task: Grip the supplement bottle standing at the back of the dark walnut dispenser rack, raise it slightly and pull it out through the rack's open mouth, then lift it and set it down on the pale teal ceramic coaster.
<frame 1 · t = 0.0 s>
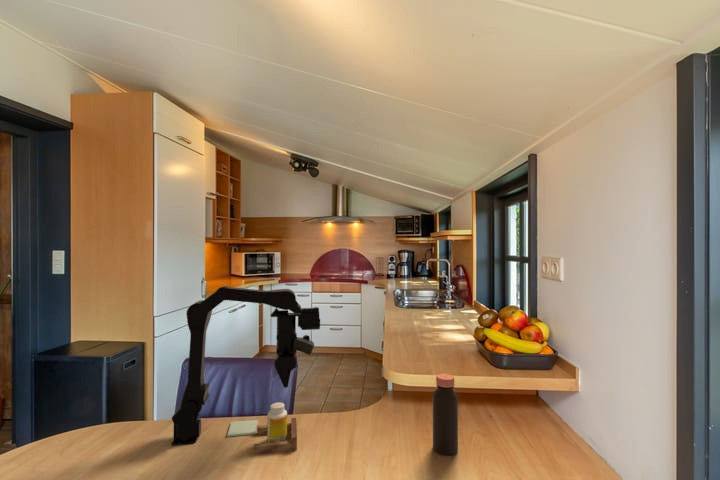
hand: (285, 381, 113), 15 cm above the table, fingers open, 9 cm apart
coaster: (243, 428, 113), on the table
supplement bottle: (277, 441, 107), resting in rack
rack: (273, 441, 106), on the table
black water bottle: (445, 449, 102), on the table
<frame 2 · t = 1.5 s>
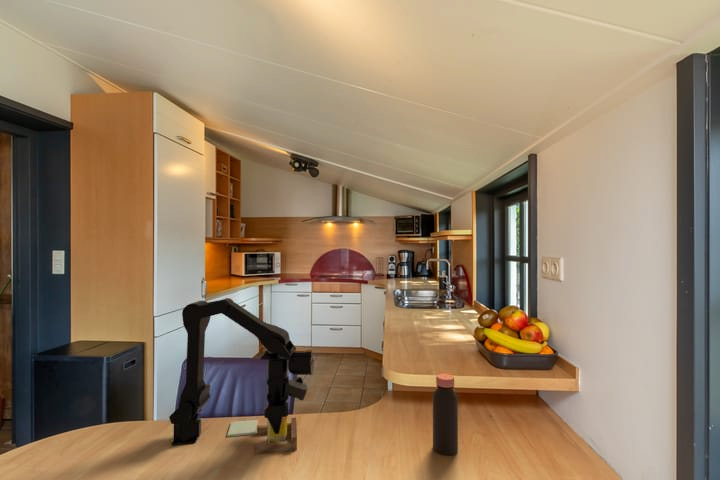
hand: (277, 428, 107), 4 cm above the table, fingers closed on supplement bottle, 6 cm apart
supplement bottle: (277, 441, 107), resting in rack, touching gripper
everything else where it was.
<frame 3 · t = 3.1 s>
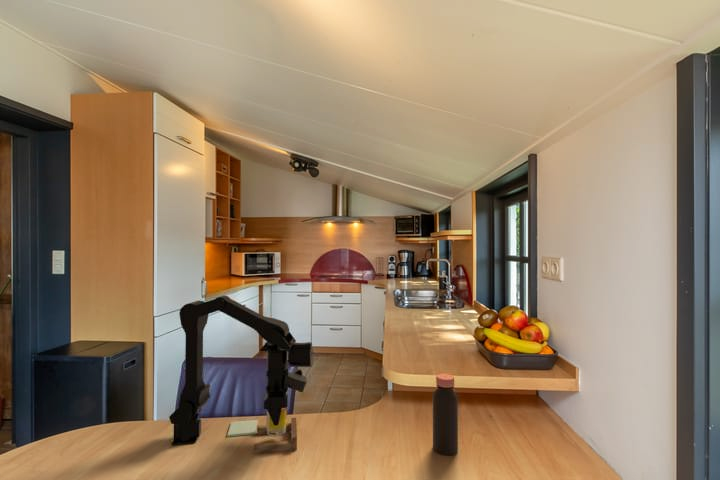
hand: (276, 420, 107), 6 cm above the table, fingers closed on supplement bottle, 5 cm apart
supplement bottle: (276, 433, 107), point 2 cm above the table, touching gripper
everything else where it was.
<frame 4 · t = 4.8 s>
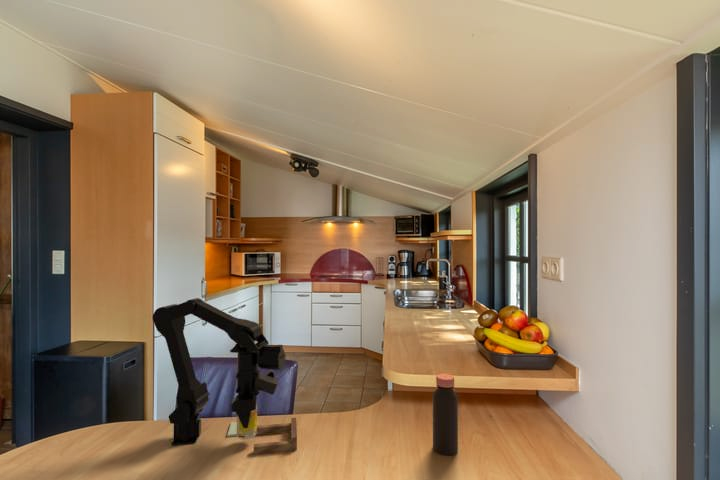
hand: (246, 422, 105), 6 cm above the table, fingers closed on supplement bottle, 5 cm apart
supplement bottle: (246, 436, 105), point 2 cm above the table, touching gripper
everything else where it was.
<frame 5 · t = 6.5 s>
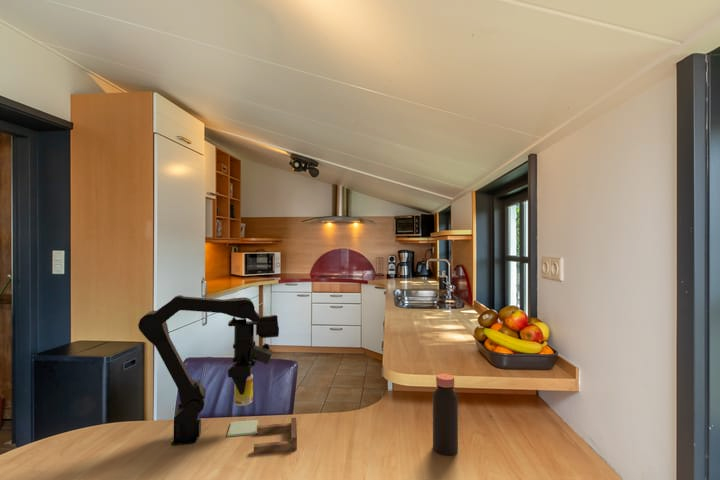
hand: (243, 390, 113), 12 cm above the table, fingers closed on supplement bottle, 5 cm apart
supplement bottle: (243, 403, 113), point 8 cm above the table, touching gripper
everything else where it was.
when the fingers open (5 cm above the table, at t = 8.0 s): supplement bottle stays where it is, resting on coaster.
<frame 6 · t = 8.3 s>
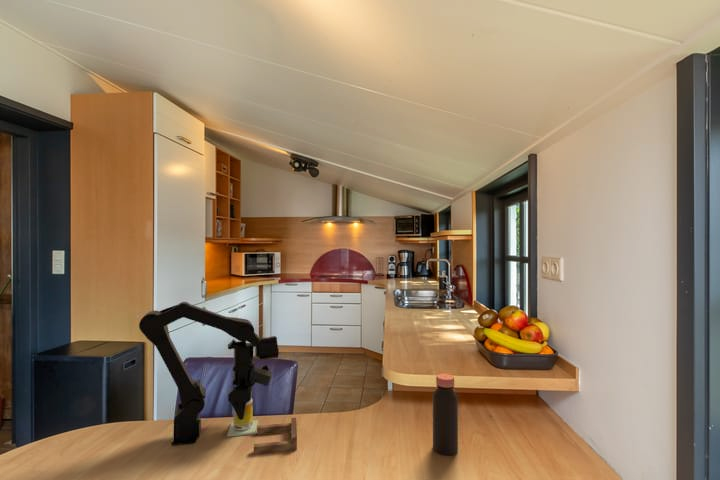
hand: (243, 412, 113), 5 cm above the table, fingers open, 9 cm apart
supplement bottle: (243, 427, 113), resting on coaster
everything else where it was.
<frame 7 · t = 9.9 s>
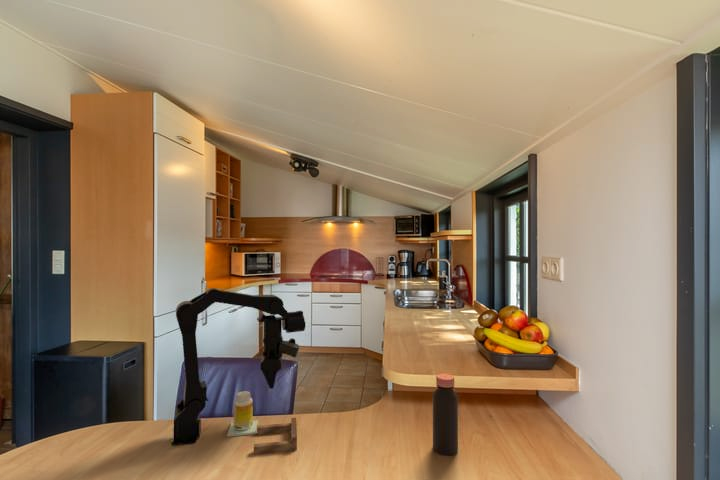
hand: (272, 382, 119), 12 cm above the table, fingers open, 9 cm apart
nothing on the table moved.
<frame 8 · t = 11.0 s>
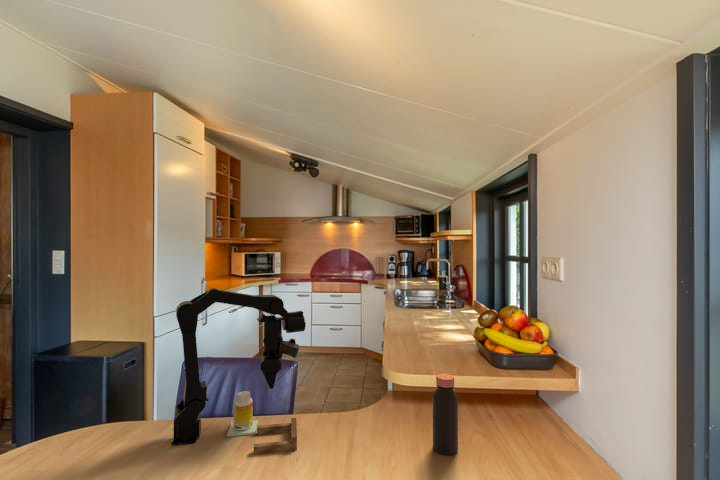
hand: (272, 383, 119), 12 cm above the table, fingers open, 9 cm apart
nothing on the table moved.
at the end: supplement bottle inside the target area on the coaster (0.0 cm from its centre), point 0.4 cm above the coaster's base; supplement bottle tilted 0°; the gripper is holding nothing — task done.
